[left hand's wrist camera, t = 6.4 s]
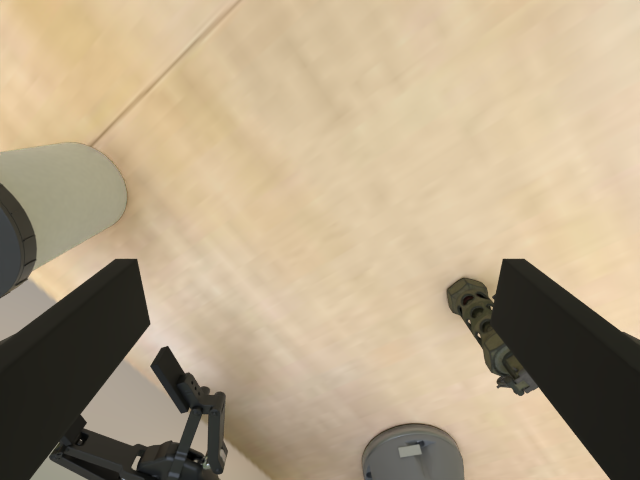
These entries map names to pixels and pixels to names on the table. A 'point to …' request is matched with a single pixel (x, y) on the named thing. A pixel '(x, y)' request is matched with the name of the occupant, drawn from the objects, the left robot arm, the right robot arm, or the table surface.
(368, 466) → the right robot arm
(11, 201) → the lid
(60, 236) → the jar
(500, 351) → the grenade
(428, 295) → the table surface
